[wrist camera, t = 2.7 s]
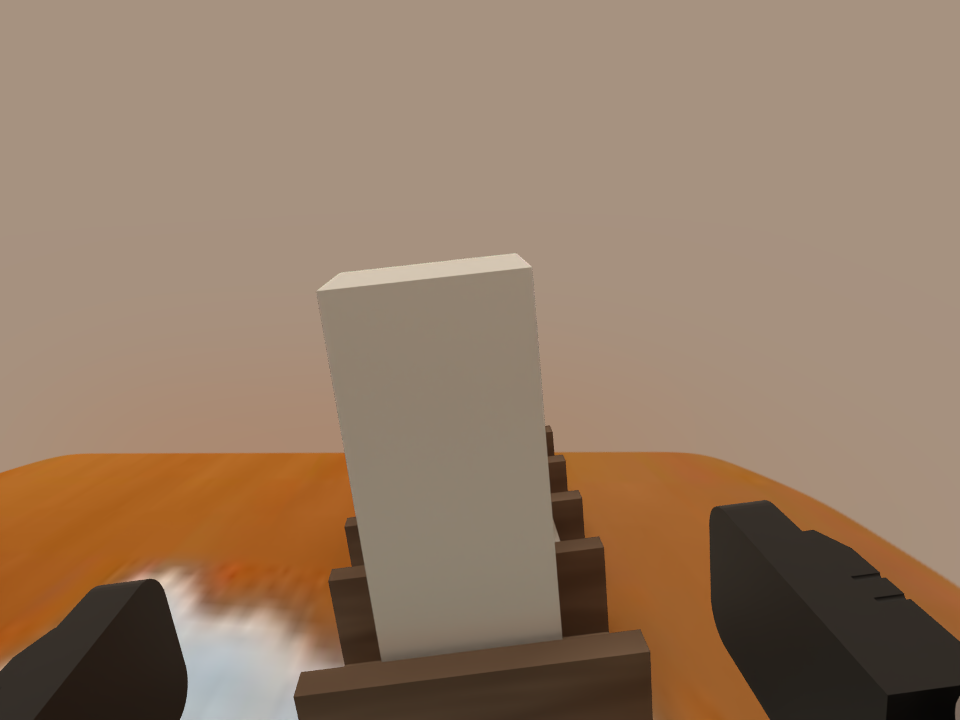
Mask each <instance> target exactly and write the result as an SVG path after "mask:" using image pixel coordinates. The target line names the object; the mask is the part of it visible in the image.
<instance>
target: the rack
mask: <svg viewBox="0 0 960 720" xmlns="http://www.w3.org/2000/svg"><path fill="white" fill-rule="evenodd" d="M545 431H546V443H547V456H548V468H549V480H550V492H551V505H552V517H553V521H554V524H555V527H556V530H557V533H558V536H559V539H560V541H558V542H555V554H556V566H557V579H558V591H559V603H560V615H561V628H562V639H561V640H553V641H545V642H537V643H529V644H521V645H513V646H505V647H498V648H490V649H482V650H474V651H466V652H458V653H450V654H442V655H434V656H426V657H418V658H410V659H403V660H395V661H387V662H382V661H381V655H380V650H379V644H378V638H377V633H376V627H375V621H374V616H373V610H372V604H371V599H370V593H369V587H368V582H367V576H366V570H365V565H364V559H363V553H362V548H361V542H360V536H359V531H358V525H357V519H356V517H351V518H347V521H346V524H345V531H346V537H347V542H348V548H349V553H350V559H351V564H352V567H346V568H338V569H332V571H331V574H330V577H329V581H328V582H329V587H330V592H331V597H332V602H333V607H334V613H335V618H336V623H337V628H338V633H339V638H340V643H341V648H342V653H343V658H344V663H345V666H344V667H339V668H331V669H323V670H315V671H308V672H301V674H300V677H299V681H298V684H297V687H296V690H295V694H294V701H295V706H296V710H297V714H298V719H299V720H653V718H652V690H651V662H650V650H649V648H648V646H647V643H646V641H645V639H644V637H643V634H642V632H641V630H632V631H624V632H616V633H609V629H608V612H607V594H606V577H605V559H604V547H603V544H602V542H601V540H600V538H599V537H591V538H585V536H584V521H583V506H582V497H581V495H580V493H579V490H575V491H568V489H567V475H566V461H565V459H564V456H563V455H556V456H554V445H553V432H552V430H551V427H550V426H545Z"/></svg>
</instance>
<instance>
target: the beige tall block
mask: <svg viewBox="0 0 960 720" xmlns="http://www.w3.org/2000/svg"><path fill="white" fill-rule="evenodd" d="M316 293H317V299H318V304H319V310H320V316H321V321H322V327H323V333H324V338H325V344H326V350H327V355H328V361H329V367H330V372H331V377H332V384H333V389H334V395H335V401H336V406H337V412H338V418H339V423H340V429H341V435H342V440H343V446H344V452H345V457H346V463H347V469H348V474H349V480H350V486H351V491H352V497H353V502H354V508H355V514H356V519H357V525H358V531H359V536H360V542H361V548H362V553H363V559H364V565H365V570H366V576H367V582H368V587H369V593H370V599H371V604H372V610H373V616H374V621H375V627H376V633H377V638H378V644H379V650H380V655H381V661H382V662H387V661H395V660H403V659H410V658H418V657H426V656H434V655H442V654H450V653H458V652H466V651H474V650H482V649H490V648H498V647H505V646H513V645H521V644H529V643H537V642H545V641H553V640H561V639H562V628H561V615H560V603H559V591H558V579H557V566H556V554H555V542H554V529H553V517H552V505H551V492H550V480H549V468H548V456H547V443H546V431H545V419H544V407H543V395H542V382H541V369H540V357H539V346H538V333H537V321H536V308H535V296H534V283H533V271H532V267H531V266H530V265H529V264H528V263H527V262H526V261H524V259H522V258H521V257H520V256H519V255H518V254H517V253H513V254H504V255H495V256H486V257H477V258H468V259H459V260H450V261H442V262H433V263H423V264H414V265H405V266H396V267H387V268H378V269H369V270H360V271H351V272H342V273H339V274H338V275H336V276H335V277H334V278H333V279H331V280H330V281H329V282H327V283H326V284H325V285H324V286H322V287H321V288H320V289H318V290H317V291H316Z"/></svg>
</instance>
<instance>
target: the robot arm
mask: <svg viewBox="0 0 960 720" xmlns="http://www.w3.org/2000/svg"><path fill="white" fill-rule="evenodd" d="M709 527H710V573H711V603H712V610H713V615H714V620H715V623H716V627H717V630H718V633H719V635H720V638H721V640H722V642H723V644H724V646H725V648H726V649H727V651H728V652H729V654H730V656H731V657H732V659H733V661H734V662H735V664H736V665H737V667H738V669H739V670H740V672H741V673H742V675H743V677H744V678H745V680H746V681H747V683H748V685H749V686H750V688H751V689H752V691H753V693H754V694H755V696H756V698H757V699H758V701H759V702H760V704H761V706H762V707H763V709H764V710H765V712H766V714H767V715H768V717H769V718H770V720H960V641H958V640H957V639H956V638H955V637H954V636H953V635H952V634H950V633H949V632H948V631H947V630H946V629H945V628H943V627H942V626H941V625H940V624H939V623H938V622H936V621H935V620H934V619H933V618H932V617H931V616H930V615H928V614H927V613H926V612H925V611H924V610H923V609H921V608H920V607H919V606H918V605H917V604H916V603H914V602H913V601H912V600H911V599H908V600H906V598H905V596H904V593H903V592H902V591H901V590H899V589H898V588H897V587H896V586H895V585H894V584H892V583H891V582H890V581H889V580H888V579H887V578H881V576H880V572H878V571H877V570H876V569H875V568H874V567H873V566H872V565H870V564H869V563H868V562H867V561H866V560H865V559H863V558H862V557H861V556H860V555H859V554H858V553H856V552H855V551H854V550H853V549H852V548H850V547H848V546H846V545H844V544H842V543H840V542H838V541H836V540H833V539H831V538H829V537H827V536H825V535H823V534H821V533H819V532H817V531H815V530H809V531H801V530H800V529H799V528H798V527H797V526H796V525H795V524H794V523H793V522H792V521H791V520H790V519H789V518H788V517H786V516H785V515H784V514H783V513H782V512H781V511H780V510H779V509H778V508H777V507H776V506H775V505H774V504H772V503H771V502H769V501H767V500H762V501H755V502H747V503H739V504H732V505H724V506H716V507H714V508H713V509H712V511H711V514H710V523H709ZM187 688H188V678H187V670H186V665H185V662H184V658H183V655H182V651H181V648H180V644H179V640H178V637H177V633H176V630H175V626H174V623H173V619H172V616H171V612H170V609H169V605H168V601H167V598H166V595H165V592H164V589H163V587H162V586H161V584H160V583H159V582H158V581H157V580H154V579H146V580H138V581H131V582H123V583H115V584H107V585H100V586H97V587H95V588H93V589H92V590H90V591H89V592H88V593H87V594H86V596H85V597H84V598H83V599H82V600H81V601H80V602H79V603H78V604H77V605H76V607H75V608H74V609H73V610H72V611H71V612H70V613H69V614H68V615H67V616H66V617H65V619H64V620H63V621H62V622H61V623H60V624H59V625H58V626H57V627H56V628H54V629H53V630H51V631H50V632H48V633H47V634H46V635H44V636H43V637H41V638H40V639H39V640H37V641H36V642H34V643H33V644H32V645H30V646H29V647H27V648H26V649H25V650H23V651H22V652H20V653H19V654H17V655H16V656H15V657H13V658H12V659H11V660H10V662H9V663H8V664H7V665H6V666H5V667H4V668H3V669H2V670H1V671H0V720H180V718H181V716H182V713H183V710H184V707H185V703H186V697H187Z"/></svg>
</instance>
